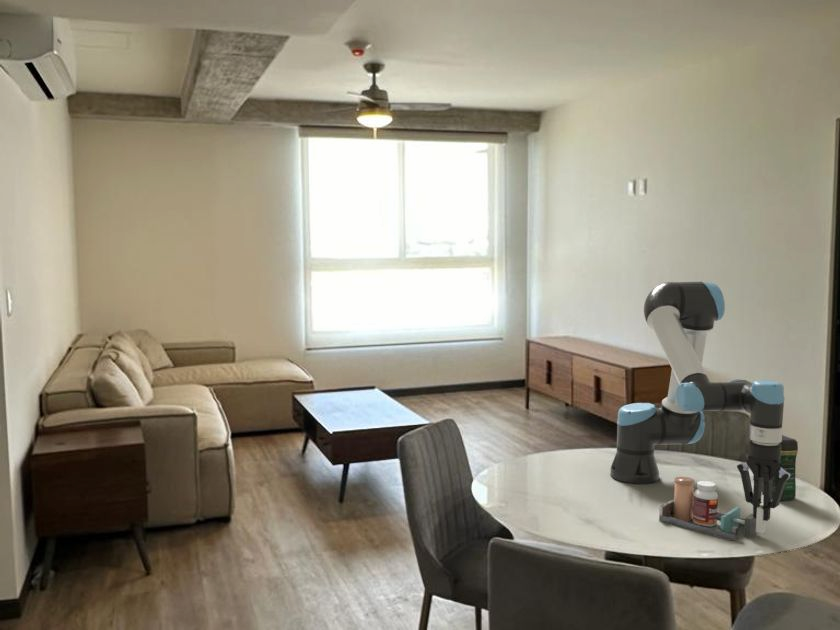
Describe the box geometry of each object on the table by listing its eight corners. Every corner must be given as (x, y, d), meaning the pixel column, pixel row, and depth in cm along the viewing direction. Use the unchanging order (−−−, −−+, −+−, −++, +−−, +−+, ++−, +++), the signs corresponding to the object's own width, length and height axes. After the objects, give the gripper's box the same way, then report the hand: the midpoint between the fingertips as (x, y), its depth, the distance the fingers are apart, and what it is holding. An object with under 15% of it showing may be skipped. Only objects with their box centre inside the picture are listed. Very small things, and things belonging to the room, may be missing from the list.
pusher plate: (720, 535, 202) (721, 516, 201) (737, 524, 210) (737, 506, 209) (744, 541, 198) (745, 522, 197) (761, 530, 205) (761, 511, 205)
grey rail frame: (659, 520, 212) (659, 506, 212) (681, 508, 222) (682, 494, 221) (733, 541, 198) (734, 525, 198) (754, 526, 208) (755, 512, 207)
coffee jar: (800, 500, 229) (803, 438, 227) (776, 502, 227) (779, 440, 225) (779, 490, 238) (782, 430, 236) (755, 491, 237) (758, 431, 235)
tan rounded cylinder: (669, 517, 214) (671, 479, 213) (678, 512, 218) (679, 475, 217) (687, 522, 211) (689, 483, 210) (696, 517, 215) (697, 479, 213)
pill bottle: (712, 529, 206) (713, 488, 205) (688, 523, 210) (690, 483, 209) (720, 522, 211) (721, 483, 210) (697, 517, 215) (699, 478, 214)
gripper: (733, 439, 199) (729, 528, 202) (786, 449, 191) (781, 542, 193) (744, 434, 205) (740, 521, 207) (797, 443, 196) (792, 534, 198)
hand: (760, 531), depth 200 cm, fingers closed
